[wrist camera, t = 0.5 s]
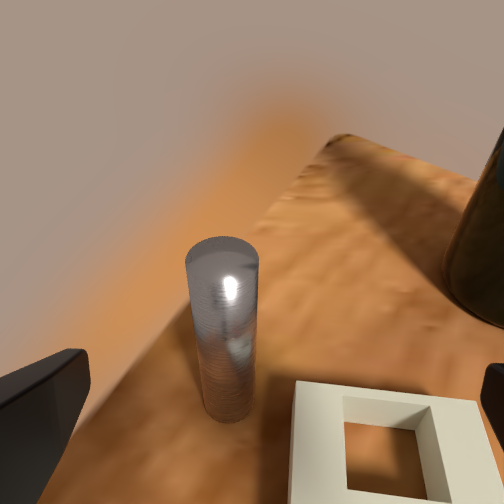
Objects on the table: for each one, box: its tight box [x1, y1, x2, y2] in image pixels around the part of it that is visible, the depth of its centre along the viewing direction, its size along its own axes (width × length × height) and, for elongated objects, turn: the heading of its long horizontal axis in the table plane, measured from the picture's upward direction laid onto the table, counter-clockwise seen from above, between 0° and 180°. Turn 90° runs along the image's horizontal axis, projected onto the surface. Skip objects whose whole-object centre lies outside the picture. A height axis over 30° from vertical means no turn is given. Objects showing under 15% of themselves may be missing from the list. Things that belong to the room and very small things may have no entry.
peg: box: [185, 236, 259, 423], centre depth 21 cm, size 3×3×12 cm
